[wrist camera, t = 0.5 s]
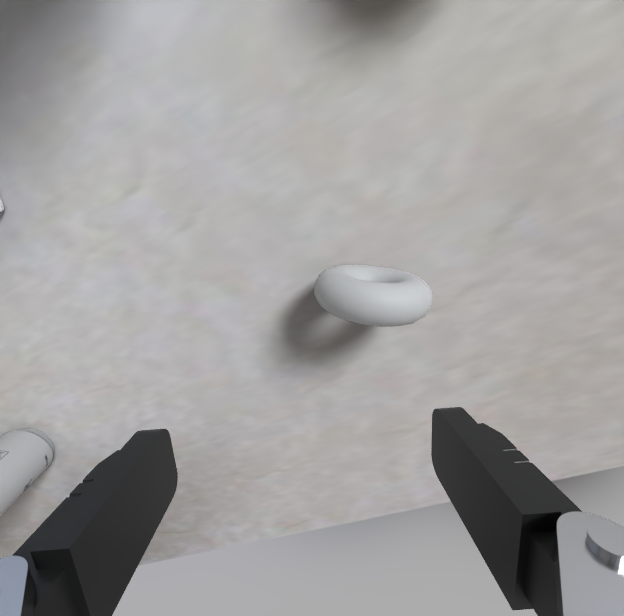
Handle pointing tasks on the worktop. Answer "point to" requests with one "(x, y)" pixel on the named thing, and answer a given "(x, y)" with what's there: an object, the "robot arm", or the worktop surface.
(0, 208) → the salt shaker
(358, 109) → the worktop surface
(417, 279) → the donut
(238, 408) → the worktop surface
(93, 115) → the worktop surface
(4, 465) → the energy drink can
